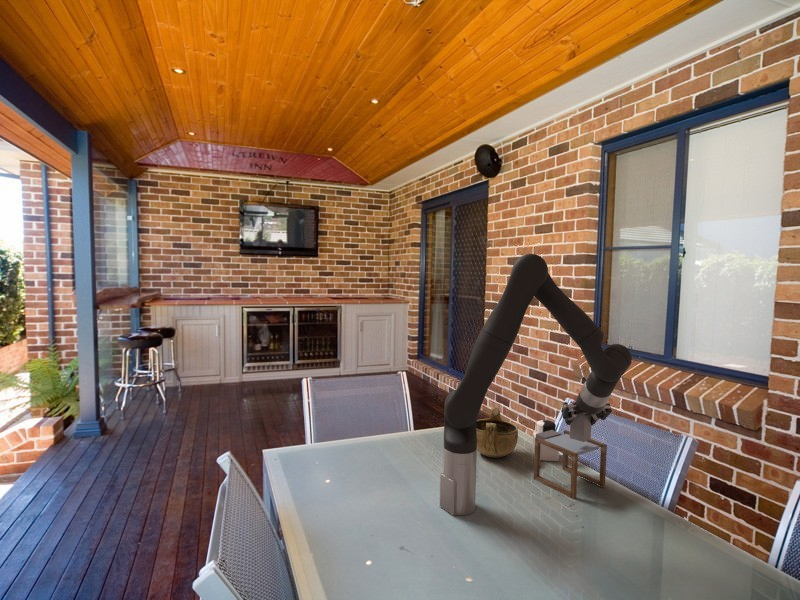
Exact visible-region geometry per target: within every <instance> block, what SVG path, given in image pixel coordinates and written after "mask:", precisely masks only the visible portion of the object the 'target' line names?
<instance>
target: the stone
mask: <svg viewBox="0 0 800 600" xmlns="http://www.w3.org/2000/svg"><path fill="white" fill-rule="evenodd" d="M577 414H578V413H577ZM571 415H572V413H571ZM569 431H570V438H571V439H575V440H578V441H582V442H585V441H587V440H589V439H592V426H591V416H588V415H582V416H580V417H578V418H574V419H572V422H571V424H570V425H569Z"/></svg>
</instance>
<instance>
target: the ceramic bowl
mask: <svg viewBox="0 0 800 600" xmlns="http://www.w3.org/2000/svg"><path fill="white" fill-rule="evenodd" d="M518 429H519V428H518V426H517V425H516V424H515V423H513V422H510V421H508V420H505V419H504V420H503V419H502V417H501V407H500V406H491V409H490V416H489V418H482V419H477V452H479V453H480V454H481V455H483V456H485V457H489V458H495V459H496V458H503V457H505V456H507V455H509V454H510V453H512V452H513V451H514V450H515V449H516V446H517V443H518V438H519V430H518Z"/></svg>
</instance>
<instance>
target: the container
mask: <svg viewBox="0 0 800 600" xmlns="http://www.w3.org/2000/svg"><path fill="white" fill-rule="evenodd" d="M556 425H557V424H556V423H555V422H553V421H551V420H550V419H549V420H548V419H541V420H538V421H537V422H536V431H533V433H532V455H534V457H535V438H536V434H538V433H542V432H546V431H549V430H554V431H556V427H557V426H556ZM556 432H557V431H556ZM559 457H560V451H558V450H555V449H553V448H550V447H548V446H545V445H543V444H541V443H540V461H546V462H559Z"/></svg>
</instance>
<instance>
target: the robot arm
mask: <svg viewBox="0 0 800 600" xmlns="http://www.w3.org/2000/svg"><path fill="white" fill-rule="evenodd" d="M503 290H504V291H503V293H502V295H501V296H500V299H499V300H498V302H497V303H496V305H495V307H494V308H493V309H492V311H491V313H490V314H489V316H488V318H486V319H487V320H486V321H485V323H484V325H483V326H482V328H481V330H480V332H479V334H478V336H477V338H476V340H475V343H474V345H473V347H472V350H471V352H470V353H471V354H470V356H469V359H468V363H467V366H466V370H465V373H464V375H463V378H462V379H461V380H460V382H459V385H457V388H456V389H453V390H452V391H450V392H449V393H448V394H447V396H446V398H445V401H444V408H443V409H444V415H443V417H444V418H443V419H444V420H443V421H444V423H443V425H444V427H443V461H442V462H443V463H442V464H443V465H442V466H443V467H442V468H443V469H442V473H440V476H439V477H440V478H439V507H440V506H441V507H440V508H442V509H443V510H444V509H445V510H444V511H446V512H447V513H448V512H449V514H450V515H451V516H453V515H454V516H466V515H470V514H472V513H474V512H475V510H476V496H477V495H476V493H477V491H476V490H477V484H476V483H477V453H478V451H477V420H478V416H479V413H480V411H481V408H482V405H483V402H484V400H485V397H486V396H487V395H486V394H487V392H488V391H489V388H490V386H491V384H492V382H493V381H494V380H495V378H496V377H497V374H498V372H500V369H501V367H502V366H503V364H504V362H505V361H506V359H507V356H509V353H510V351H511V349H512V348H513V344H514V343H515V341H516V338H517V336H518V333H519V331H520V329H521V326H522V323H523V320H524V318H525V315H526V312H527V310H528V308H529V306H530V304H531V302H532V301H533V299H534V298H535V299H536V300H537V301H538V302H539V303H540V304H542V305H543V306H544V308H546V310H547V311H548V313H550V314H551V315H552V318H554V319H555V321H556V322H557V323H558V324H559V325H560V327H561V328H562V329H563V330H564V331H565V332H566V334H567V335H568V336H569V337H570V338H571V339H572V340H573V342H575V344H576V345H577V346H578V347H579V349H580V350H581V352H582V355H583V356H584V358H585V360H586V362H587V364H588V366H589V367H590V369H591V372H590V374H589V375H588V377H587V379H586V380H585V381H584V383H583V385H582V386H581V388H580V390H579V393H578V395H577V396H576V401H575V402H572V404H570V403H569V404H568V402H567V401H564V402H563V403H562V407H561V415H562V419H564V421H565V422H564V423H565V424H566V425H567V426H570V424H571V422H572V419H574V418H578V417H580V416H582V415H588V416H591V427H592V426H594V425H595V424H596V423H597V421H600V420H601V421H604V420H606V419H607V418H608V417H609V416H610V415H611V413H612V412H613V410H612V406H611V403H609V402H608V401H609V400H610V398H611V395H612V393H613V392H614V390H615V387H616V386H617V384H618V382H619V381H620V379H621V378H622V377H623V376H624V375H625V373H626V372H627V370H629V368H630V367H631V364H632V361H633V355H632V352H631V351H630V349H629V348H628V347H626V346H625V345H623V344H621V343H613V344H610V345H608V346H607V347H605V349H603V347H602V342H603V341H604V338H605V334H604V332H603V329H601V328H600V327H599V326H598V325H597V324H596V323H595V321H594V320H593V319H591V317H590V316H589V315H588V314H587V313H586V312H585V311H584V310H583V309H582V308H581V307H580V306H578V305H577V304H576V303H575V302H574V301H573V300H571V298H570V297H568V295H566V293H564V292H563V290H561V288H560V287H559V285H557V283H555V281H554V280H553V278H552V276H551V275H550V273H549V267H548V264H547V262H546V261H545V259H544V258H543V257H542V256H540V255H538V254H535V253H526V254H523V255H521V256H520V257H519V258H517V259H516V260H515V261H514V263H513V266H512V268H511V272H510V275H509V278H508V281H507V283H506V285H505V288H504V289H503ZM571 413H572V415H571ZM577 413H578V414H577Z"/></svg>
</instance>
